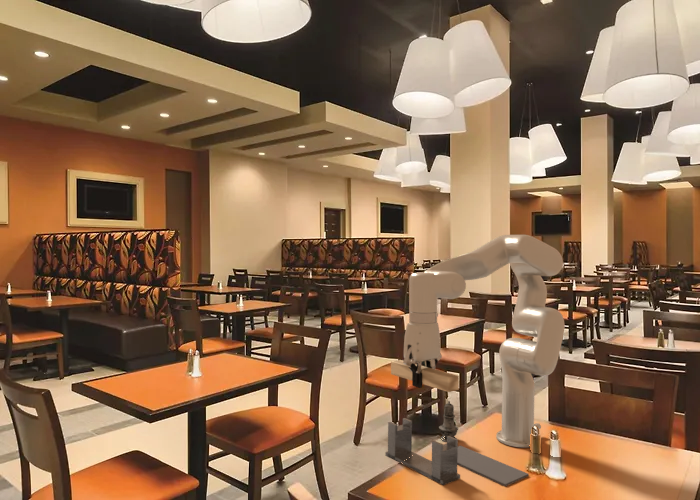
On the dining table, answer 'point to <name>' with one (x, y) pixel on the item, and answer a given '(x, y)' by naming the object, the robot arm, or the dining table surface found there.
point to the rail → (427, 376)
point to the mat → (488, 467)
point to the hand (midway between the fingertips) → (422, 384)
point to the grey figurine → (448, 423)
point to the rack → (437, 469)
